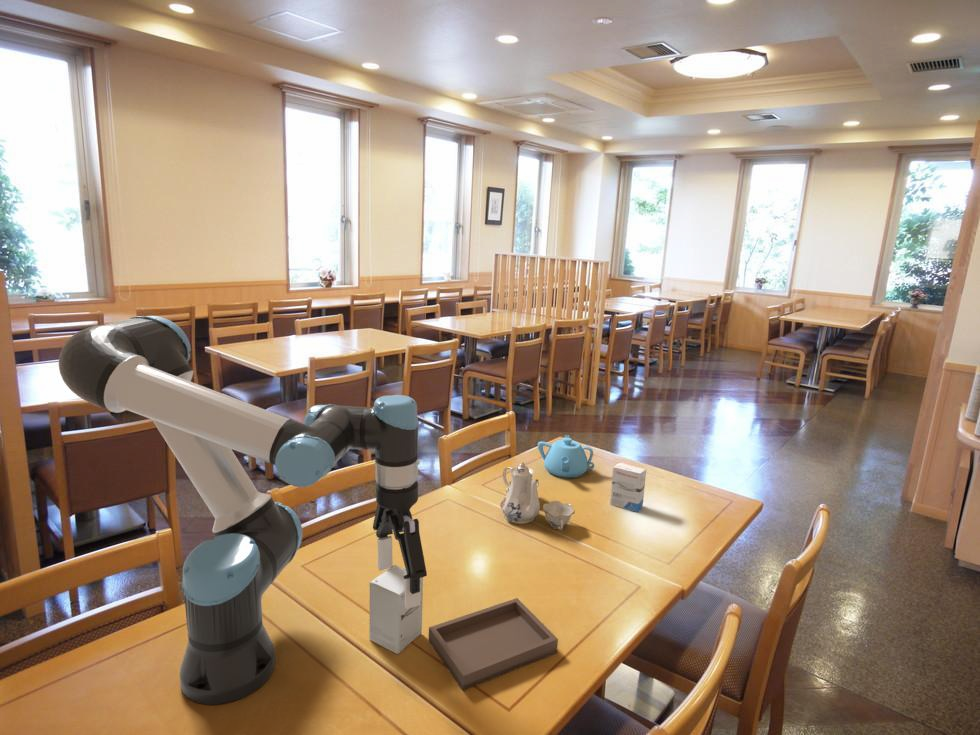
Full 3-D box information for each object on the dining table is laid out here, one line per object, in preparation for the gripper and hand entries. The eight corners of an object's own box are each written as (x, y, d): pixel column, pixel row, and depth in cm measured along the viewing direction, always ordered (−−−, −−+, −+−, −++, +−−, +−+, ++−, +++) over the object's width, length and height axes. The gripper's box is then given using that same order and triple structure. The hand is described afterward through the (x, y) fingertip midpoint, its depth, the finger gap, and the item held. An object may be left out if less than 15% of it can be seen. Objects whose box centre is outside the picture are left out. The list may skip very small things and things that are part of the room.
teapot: (529, 468, 195) (531, 436, 192) (565, 457, 206) (567, 427, 203) (563, 485, 184) (566, 451, 181) (599, 472, 194) (602, 440, 192)
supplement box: (398, 655, 108) (398, 595, 106) (368, 640, 112) (367, 581, 109) (423, 633, 115) (424, 576, 112) (394, 619, 118) (394, 563, 115)
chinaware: (583, 535, 158) (593, 476, 155) (535, 545, 148) (544, 483, 145) (520, 494, 180) (528, 442, 177) (474, 501, 170) (482, 446, 167)
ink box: (643, 506, 172) (647, 468, 169) (637, 512, 168) (641, 474, 165) (615, 498, 176) (619, 461, 173) (609, 504, 172) (612, 466, 169)
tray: (462, 690, 101) (463, 675, 100) (428, 641, 113) (428, 627, 112) (556, 652, 111) (557, 638, 110) (516, 610, 123) (517, 597, 122)
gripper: (446, 505, 97) (445, 617, 102) (391, 454, 118) (392, 549, 123) (404, 515, 94) (405, 631, 98) (354, 460, 114) (357, 559, 119)
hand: (398, 586), depth 111 cm, fingers open, 13 cm apart
